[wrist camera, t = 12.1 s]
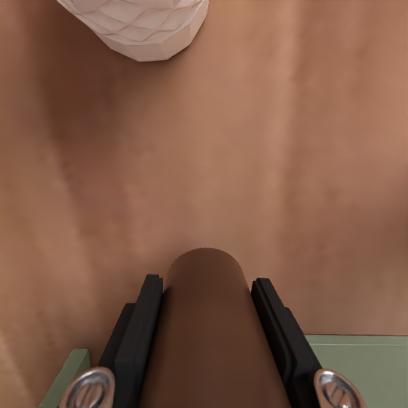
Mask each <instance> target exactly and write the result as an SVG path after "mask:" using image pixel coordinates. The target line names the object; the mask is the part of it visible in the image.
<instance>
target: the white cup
mask: <svg viewBox="0 0 408 408" xmlns="http://www.w3.org/2000/svg"><path fill="white" fill-rule="evenodd" d="M57 1H58V2H59V3H60V4H61V5H62V6H63V7H64V8H65V9H66V10H68V11H69V12H70V13H72V14H73V15H74V16H75V17H77V18H78V19H79V20H81V21H82V22H83V23H85V24H86V25H87V26H88V27H89V28H90V29H91V30H92V31H93V32H94V33H95V34H96V35H97V36H98V37H99V38H100V39H101V40H102V41H103V42H104V43H105V44H106V45H107V46H108V47H109V48H110V49H112V50H114V51H116V52H119V53H121V54H123V55H125V56H127V57H129V58H132V59H134V60H136V61H138V62H144V61H160V60H167V59H169V58H170V57H172V56H173V55H175V54H176V53H178V52H179V51H181V50H182V49H184V48H185V47H187V46H188V45H190V44H191V42H192V41H193V39H194V37H195V35H196V34H197V32H198V30H199V28H200V27H201V25H202V23H203V21H204V20H205V18H206V16H207V11H208V4H209V0H57Z"/></svg>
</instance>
